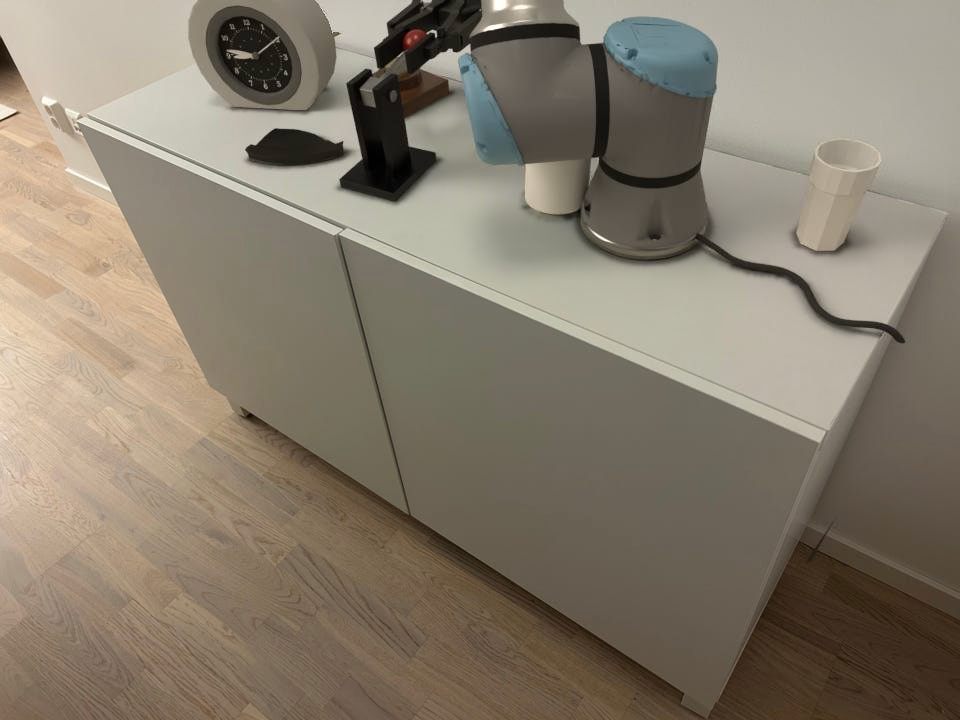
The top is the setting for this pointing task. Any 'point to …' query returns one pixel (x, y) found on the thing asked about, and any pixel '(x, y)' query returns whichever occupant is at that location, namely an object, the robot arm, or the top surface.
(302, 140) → the curved wedge
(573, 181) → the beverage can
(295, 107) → the alarm clock
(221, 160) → the top surface
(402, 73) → the button
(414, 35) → the lever
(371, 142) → the bracket
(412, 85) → the button block
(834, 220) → the cup
